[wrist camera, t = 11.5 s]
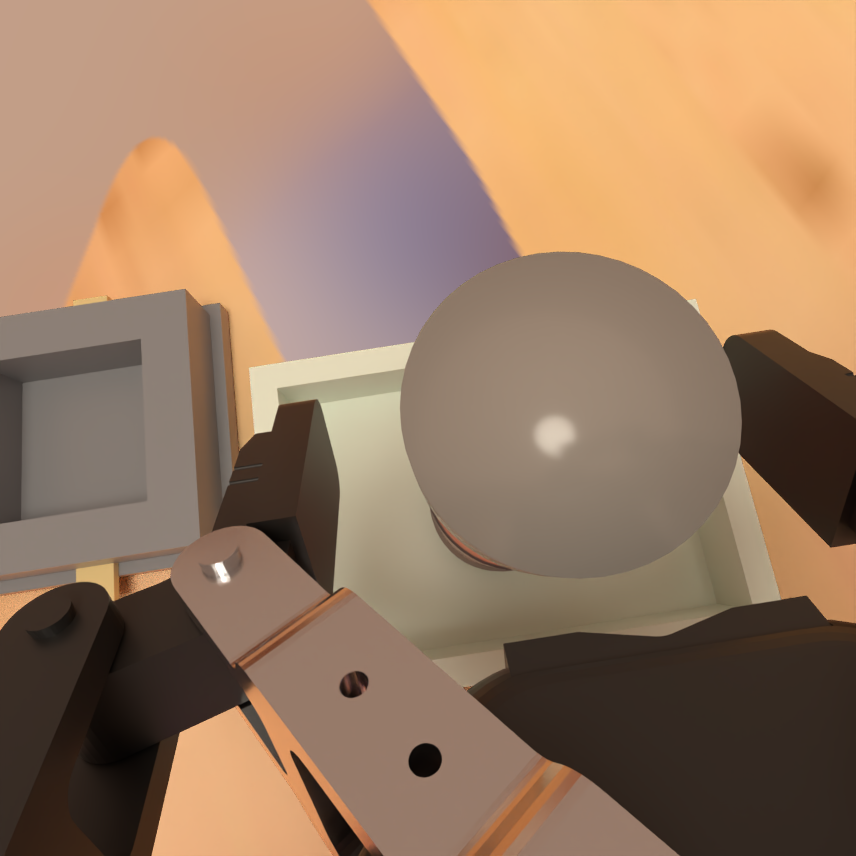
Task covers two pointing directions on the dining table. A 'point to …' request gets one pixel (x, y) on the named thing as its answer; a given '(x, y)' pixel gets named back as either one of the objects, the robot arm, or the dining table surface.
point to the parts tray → (476, 588)
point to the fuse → (568, 417)
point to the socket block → (111, 437)
